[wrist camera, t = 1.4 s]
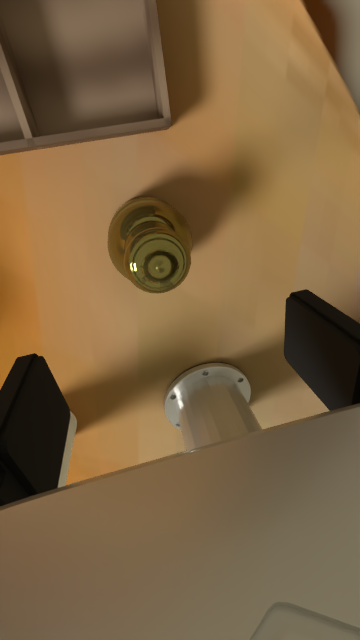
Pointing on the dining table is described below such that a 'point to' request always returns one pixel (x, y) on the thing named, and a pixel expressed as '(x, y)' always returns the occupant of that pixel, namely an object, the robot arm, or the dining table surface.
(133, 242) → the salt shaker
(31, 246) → the dining table surface
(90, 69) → the wooden compartment tray
